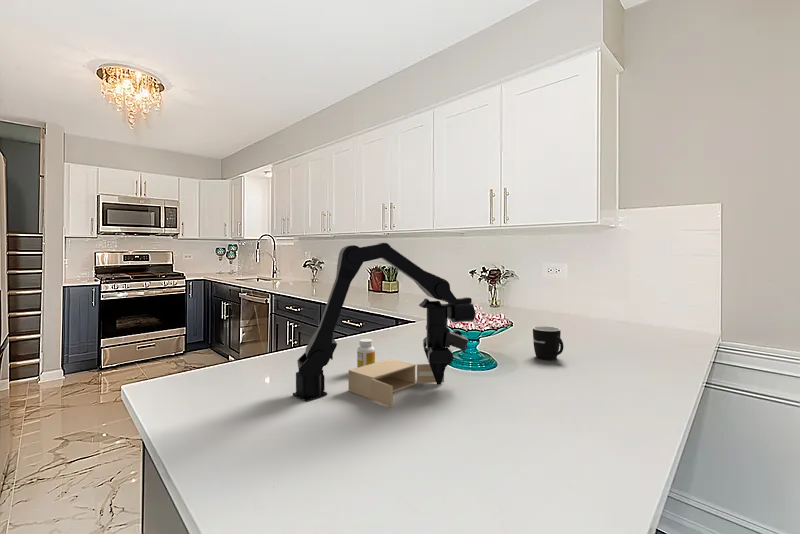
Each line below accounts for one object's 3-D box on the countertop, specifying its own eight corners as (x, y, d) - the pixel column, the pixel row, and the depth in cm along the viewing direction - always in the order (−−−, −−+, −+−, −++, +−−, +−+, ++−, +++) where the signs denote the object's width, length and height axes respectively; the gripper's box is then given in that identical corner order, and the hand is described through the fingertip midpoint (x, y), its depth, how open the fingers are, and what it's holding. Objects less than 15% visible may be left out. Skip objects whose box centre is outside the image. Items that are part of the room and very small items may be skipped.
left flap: (371, 399, 104) (371, 379, 104) (373, 398, 104) (372, 378, 104) (391, 407, 98) (391, 386, 98) (393, 406, 99) (392, 385, 98)
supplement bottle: (376, 369, 131) (376, 338, 131) (373, 374, 126) (373, 342, 125) (359, 369, 131) (359, 338, 131) (355, 374, 126) (355, 341, 126)
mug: (527, 356, 147) (527, 327, 147) (547, 353, 151) (547, 325, 150) (551, 364, 136) (551, 333, 136) (572, 361, 139) (573, 331, 139)
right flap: (443, 381, 117) (443, 364, 117) (444, 382, 117) (444, 364, 116) (416, 382, 117) (416, 364, 117) (417, 382, 116) (417, 364, 116)
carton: (373, 399, 105) (373, 377, 104) (348, 390, 111) (348, 370, 111) (415, 384, 116) (415, 364, 116) (390, 377, 123) (390, 358, 123)
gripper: (473, 329, 107) (472, 390, 108) (460, 317, 126) (459, 369, 126) (429, 329, 107) (429, 390, 107) (422, 318, 125) (422, 369, 126)
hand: (436, 379), depth 117 cm, fingers open, 9 cm apart
